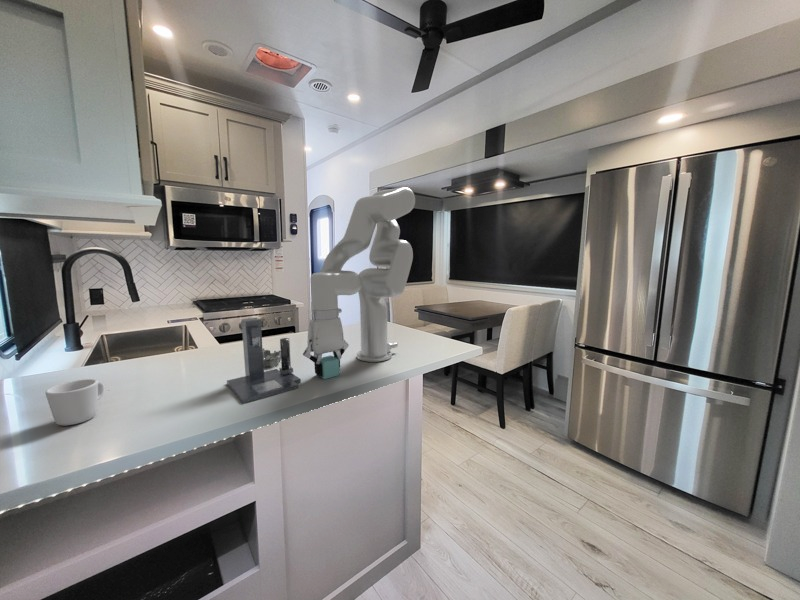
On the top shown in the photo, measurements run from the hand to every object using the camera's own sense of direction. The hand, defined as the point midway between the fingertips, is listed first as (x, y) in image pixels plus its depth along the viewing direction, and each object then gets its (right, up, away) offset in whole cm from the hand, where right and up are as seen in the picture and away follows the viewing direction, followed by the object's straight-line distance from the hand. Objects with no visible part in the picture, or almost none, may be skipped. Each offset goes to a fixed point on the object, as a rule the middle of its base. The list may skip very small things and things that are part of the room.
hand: (327, 372), depth 96 cm
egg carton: (-22, 0, +12) cm, 25 cm away
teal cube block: (0, -1, 0) cm, 1 cm away
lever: (-12, 0, -1) cm, 12 cm away
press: (-16, -2, -7) cm, 17 cm away
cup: (-50, -5, -24) cm, 56 cm away
